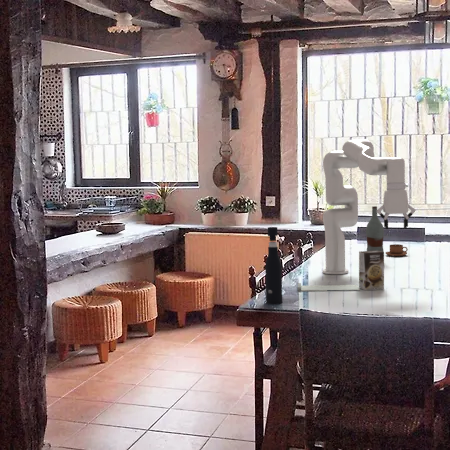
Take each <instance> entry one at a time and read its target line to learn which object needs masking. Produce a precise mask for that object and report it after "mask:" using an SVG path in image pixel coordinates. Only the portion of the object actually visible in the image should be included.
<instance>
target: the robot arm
mask: <svg viewBox="0 0 450 450" xmlns="http://www.w3.org/2000/svg"><path fill="white" fill-rule="evenodd" d="M374 148H375V147H374V144H373V143H372V141H370V140H369V139H350V140H347V141H345V142H344V143H343V145H342V149H341V150H333V151H329V152H327V153H326V154H325V155H324V157H323V160H322V168H323V173H324V178H325V179H324V180H325V183H324V184H325V185H324V186H325V202H326V203H327V205H328V206H344V207H337V208H336V207H335V208H328V209H327V210H325V211H324V213H323V214H322V221H323V227H324V228H323V229H324V239H325V240H324V241H325V244H324V245H325V246H324V247H325V248H324V249H325V250H324V251H325V252H324V253H325V268H324V269H322V273H323V274H326V275H345V274H348V273H349V269H347V268H346V238H345V233H344V232H343V230H342V229H341V228H350V227H354V226H356V225H357V223H358V220H359V198H358V197H359V195H358V191H357V189H356V188H355V187H354V186H352V185H344V176H343V173H342V172H341V171H340V169H357V168H359V170H360V171H361V172H362V173H365V174H366V175H369V176H386V190H384V194H383V204H382V205H381V206H380V207H378V208H377V215H379V216H380V217H381V218H382V219H383V228H384V229H385V230H388V229H389V219H388V218H389V216H390V214H391V215H393V214H394V215H396V214H397V215H399V214H402V215H403V217H404V218H403V229H406V230H407V228H408V226H409V219H410V218H411V217H412V215H413V214H415V212H416V209H415V208H414V207H413V206H411V205H410V204H409V197H408V190H407V188H409V183H406V178H405V177H406V174H405V173H406V170H405V169H406V163H405V159H404V158H402V157H375V152H374V150H375V149H374ZM409 210H410V212H409ZM382 211H383V212H384V214H383V212H382ZM408 212H409V213H408Z"/></svg>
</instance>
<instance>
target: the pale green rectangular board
mask: <svg viewBox="0 0 450 450" xmlns="http://www.w3.org/2000/svg"><path fill="white" fill-rule="evenodd" d="M327 290H360V291H361V288H359V284H358V285H357V284H341V285H340V284H337V285H336V284H335V285H332V284H331V285H302V283H301V282H298V283H297V291H298V292H328V291H327Z"/></svg>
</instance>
